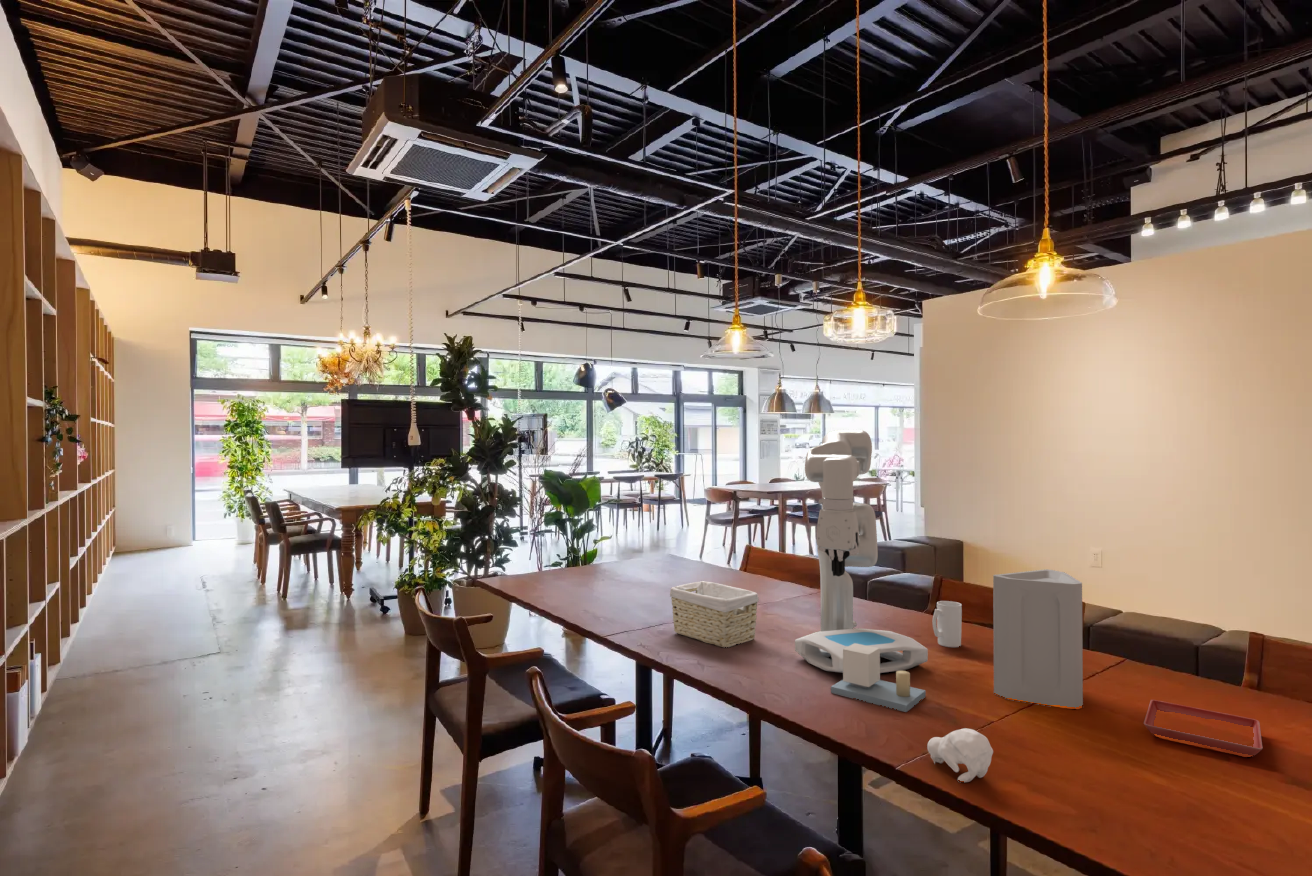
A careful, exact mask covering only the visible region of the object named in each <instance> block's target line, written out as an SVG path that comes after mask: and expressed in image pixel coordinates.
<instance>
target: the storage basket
mask: <svg viewBox="0 0 1312 876" xmlns="http://www.w3.org/2000/svg"><path fill="white" fill-rule="evenodd" d="M669 597H670V598H671V599H670V600H671V606H672V608H671V609H672V620H673V629H674V632H675V633H676V634H679V635H682V636H684V637H689V638H691V639H696V640H698V641H701V642H703V643H706V644H710V645H714V646H716V647H721V648H725V647H726V648H727V647H728V648H730V647H734V646H736V644H738V645H741V644H744V643H746V642H750V641H752V640H754V639H755V635H756V625H757V623H756V621H757V607H758V602H759V601H760V598H759V595H758V593H757V592H755V591H752V590H748V589H745V588H740V587H735V586H730V585H727V584H722V583H718V582H713V581H705V580H701V581H696V582H689V583H684V584H680V585H676V586H673V587H671V588H670V591H669ZM740 643H741V644H740Z"/></svg>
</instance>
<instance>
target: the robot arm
mask: <svg viewBox="0 0 1312 876" xmlns="http://www.w3.org/2000/svg"><path fill="white" fill-rule="evenodd" d="M872 452H873V443H872V438H871V437H870V435H869V433H868V432H867V431H865V430H863V429H862V430H861V429H858V430H857V429H856V430H854V429H853V430H852V429H851V430H849V429H845V430H844V429H843V430H841V429H840V430H839V429H837V430H832V431H829V432H827V433H826V434H825V435H824V436H823V438H822V440H821V444H819V445H816V446H814V447H812V448H810V449H809V450H808V451H807V452H806V456H805V463H804V474H805V477H806V479H807V480H808V481H809V482H812V483H818V486H819V487H820V490H821V498H819V499H818V504H819V505H821V509H819V512H818V513H819V514H818V519H817V524H816V526H817V527H816V538H815V539H816V548H817V557H818V563H819V564H818V565H819V573H820V574H819V575H820V576H819V577H820V581H819V582H820V630H818V631H817V632H822V631H833V630H843V629H854V628H855V627H856V628H857V625H858V623H857V622H856V621H855V620H854V583H853V579H852V577H851V575H850V574H849V573H848V572H847V571H846V568H847V567H850V568H851V567H853V568H856V567H857V568H871V567H874V566H876V564H877V561H878V559H879V558H878V555H879V554H878V553H879V552H878V533H877V532H878V531H877V519H876V512H875V510H874V508H873V507H872V505H870V504H868V503H864V502H863V503H861V502H854V482H855V481H856V480H857V479H858V477H859V476H861V475H865V474H867V473H868V472H869V471H870V468H871V463H872Z"/></svg>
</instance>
